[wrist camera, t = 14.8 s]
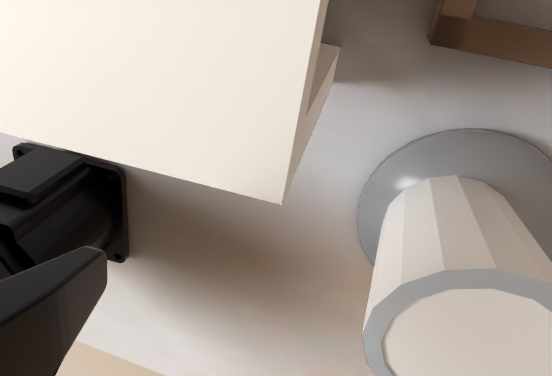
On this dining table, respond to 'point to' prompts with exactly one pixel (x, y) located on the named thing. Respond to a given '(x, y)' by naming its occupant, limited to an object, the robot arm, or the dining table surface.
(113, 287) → the dining table surface
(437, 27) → the tray
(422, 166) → the coaster
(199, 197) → the dining table surface
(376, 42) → the dining table surface
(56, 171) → the robot arm
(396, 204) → the white tapered cup
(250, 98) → the cubby
